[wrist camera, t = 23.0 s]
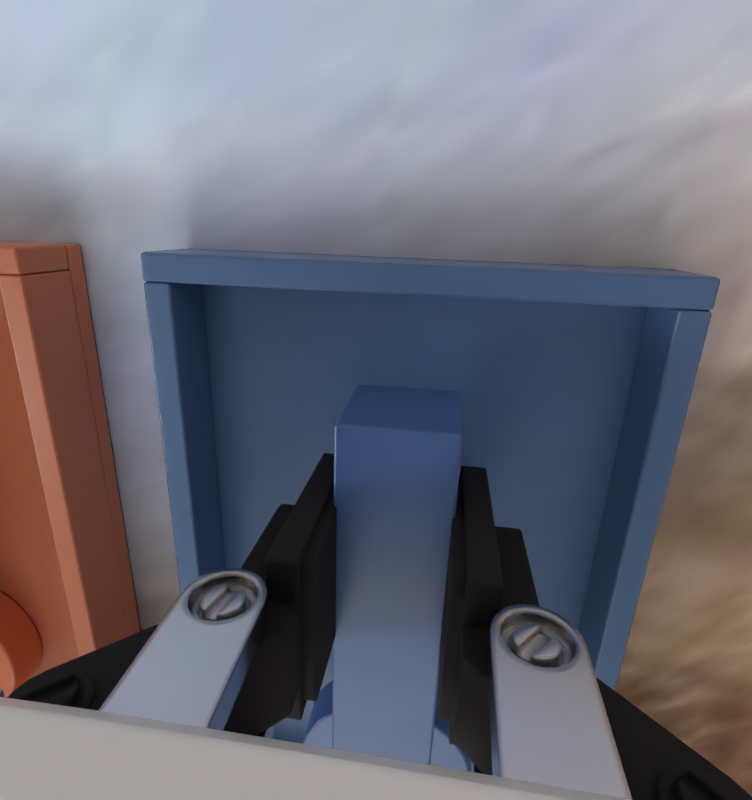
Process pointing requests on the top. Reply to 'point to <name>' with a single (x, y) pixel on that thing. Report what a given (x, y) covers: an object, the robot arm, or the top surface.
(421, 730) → the blue spoon
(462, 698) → the robot arm
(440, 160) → the top surface
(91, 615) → the terracotta tray
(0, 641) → the terracotta spoon
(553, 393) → the blue tray
